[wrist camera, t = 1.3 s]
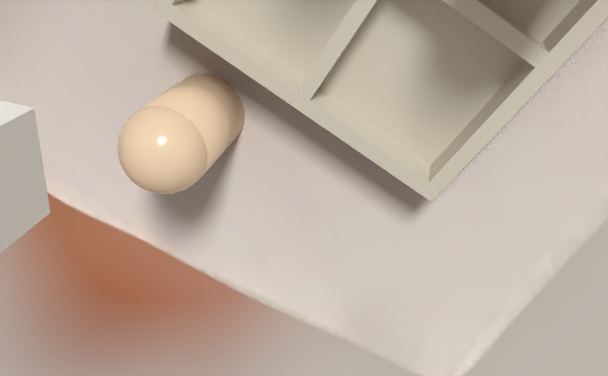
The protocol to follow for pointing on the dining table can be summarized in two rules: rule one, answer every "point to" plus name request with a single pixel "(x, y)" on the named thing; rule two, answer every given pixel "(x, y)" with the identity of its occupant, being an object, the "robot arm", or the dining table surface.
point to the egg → (180, 134)
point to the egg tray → (397, 67)
